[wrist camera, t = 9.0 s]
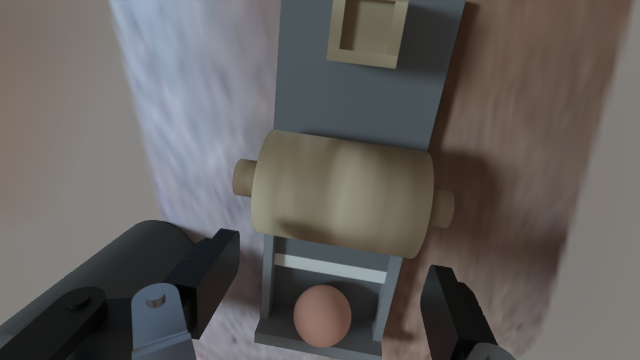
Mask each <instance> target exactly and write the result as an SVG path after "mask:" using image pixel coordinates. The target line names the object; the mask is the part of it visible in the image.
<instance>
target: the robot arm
mask: <svg viewBox="0 0 640 360" xmlns="http://www.w3.org/2000/svg"><path fill="white" fill-rule="evenodd" d="M239 250H240V234H239V231H234V230H229V229H223V228H221V229H220V230H219V231H218V232H217V233H216V234H215V236H214V237H213V238H212V239H210V238H205V239H203V240H201V241H200V242H198V243H196V244H195V245H194V246H193V247H192V248H191V249H190V251H189V252H188V253H187V254H186V255H185V256H184V257H183V259H182V260H181V261H180V262H179V263H178V264H177V265H176V266H175V268H174V269H173V270H172V271H171V272H170V273H169V274H168V276H167V277H166V278H165V279H164V280H163V281H162V282H161V283H157V284H153V285H149V286H147V287H145V288H143V289H141V290H140V291H139V292H137V293H136V294H135V296H134V297H131V298H118V299H106V294H105V291H104V290H103V289H101V288H99V287H82V288H78V289H75V290H72V291H70V292H68V293H66V294H64V295H62V296H61V297H59V298H58V299H57V300H56V301H55V302H53V303H52V304H51V305H50V306H49V307H48V308H47V309H45V310H44V311H43V312H42V313H41V314H40V315H39V316H37V317H36V318H35V319H34V320H33V321H32V322H31V323H29V324H28V325H27V326H26V327H25V328H24V329H22V330H21V331H20V332H19V333H18V334H17V335H16V336H14V337H13V338H12V339H11V340H10V341H9V342H8V343H6V344H5V345H4V346H3V347H2V348H1V349H0V360H196V355H195V351H194V347H193V342H192V339H197V340H199V339H200V337H201V335H202V333H203V332H204V330H205V328H206V327H207V325H208V323H209V321H210V320H211V318H212V316H213V314H214V313H215V311H216V309H217V307H218V306H219V304H220V302H221V300H222V299H223V297H224V295H225V293H226V292H227V290H228V288H229V286H230V285H231V283H232V281H233V279H234V278H235V276H236V273H237V271H238V267H239ZM420 308H421V313H422V318H423V322H424V327H425V331H426V335H427V340H428V344H429V349H430V353H431V357H432V360H516V359H515V358H514V357H513V356H512V355H511V354H510V353H509V352H507V351H506V350H504V349H503V348H501V347H499V346H498V344H497V342H496V340H495V338H494V335H493V333H492V331H491V329H490V327H489V325H488V323H487V320H486V318H485V316H484V315H483V312H482V310H481V308H480V306H479V303H478V301H477V299H476V297H475V295H474V293H473V292H472V291H471V290H470V289H469V288H468V286H467V285H466V284H465V283H462V282H458V281H457V279H456V277H455V274H454V272H453V270H452V268H449V267H443V266H438V265H431V266H430V268H429V271H428V274H427V278H426V281H425V284H424V287H423V291H422V294H421V300H420Z"/></svg>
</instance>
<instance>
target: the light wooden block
mask: <svg viewBox="0 0 640 360" xmlns="http://www.w3.org/2000/svg"><path fill="white" fill-rule="evenodd" d="M408 3H409V0H333V6H332V14H331V23H330V32H329V41H328V50H327V58H326V60H330V61H338V62H346V63H354V64H361V65H369V66H377V67H385V68H393V69H396V64H397V59H398V54H399V49H400V43H401V38H402V33H403V28H404V23H405V18H406V13H407V8H408Z"/></svg>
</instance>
